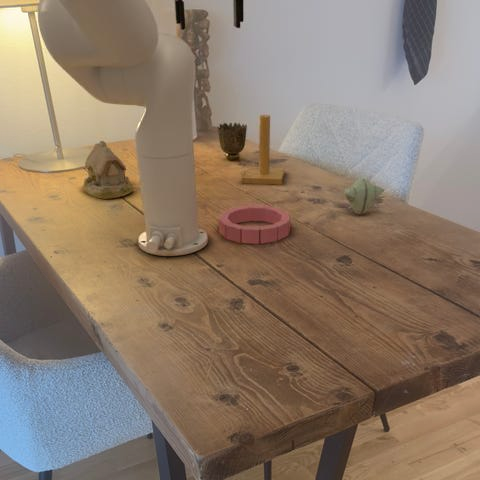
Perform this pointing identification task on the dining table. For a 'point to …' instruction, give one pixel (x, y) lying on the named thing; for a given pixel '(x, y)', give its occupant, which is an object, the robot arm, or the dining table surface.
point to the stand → (264, 159)
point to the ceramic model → (105, 174)
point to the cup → (232, 139)
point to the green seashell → (362, 195)
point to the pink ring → (254, 234)
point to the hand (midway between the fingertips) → (210, 28)
